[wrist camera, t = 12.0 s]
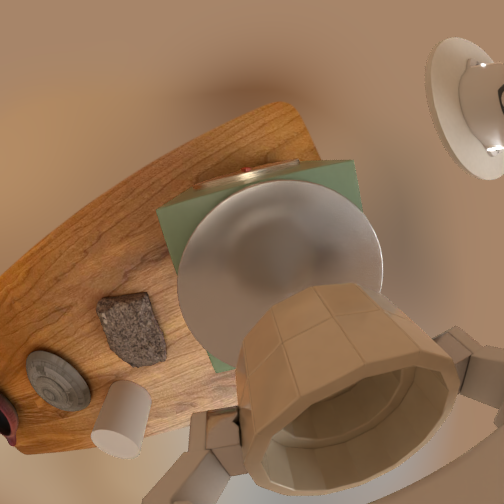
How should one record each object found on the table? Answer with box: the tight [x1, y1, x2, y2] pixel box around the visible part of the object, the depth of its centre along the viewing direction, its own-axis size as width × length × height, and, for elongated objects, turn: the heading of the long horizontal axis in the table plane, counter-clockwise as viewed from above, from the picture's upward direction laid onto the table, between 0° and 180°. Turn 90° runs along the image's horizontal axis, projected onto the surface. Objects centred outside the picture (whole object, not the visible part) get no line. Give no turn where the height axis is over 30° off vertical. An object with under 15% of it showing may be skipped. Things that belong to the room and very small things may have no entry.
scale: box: [156, 159, 383, 373], centre depth 27 cm, size 12×13×23 cm
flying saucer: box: [26, 351, 91, 411], centre depth 40 cm, size 15×15×6 cm
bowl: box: [0, 393, 18, 446], centre depth 41 cm, size 16×13×8 cm
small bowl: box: [235, 283, 460, 496], centre depth 8 cm, size 6×6×4 cm
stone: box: [96, 292, 166, 368], centre depth 39 cm, size 12×9×4 cm
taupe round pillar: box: [91, 380, 152, 459], centre depth 39 cm, size 8×8×12 cm
